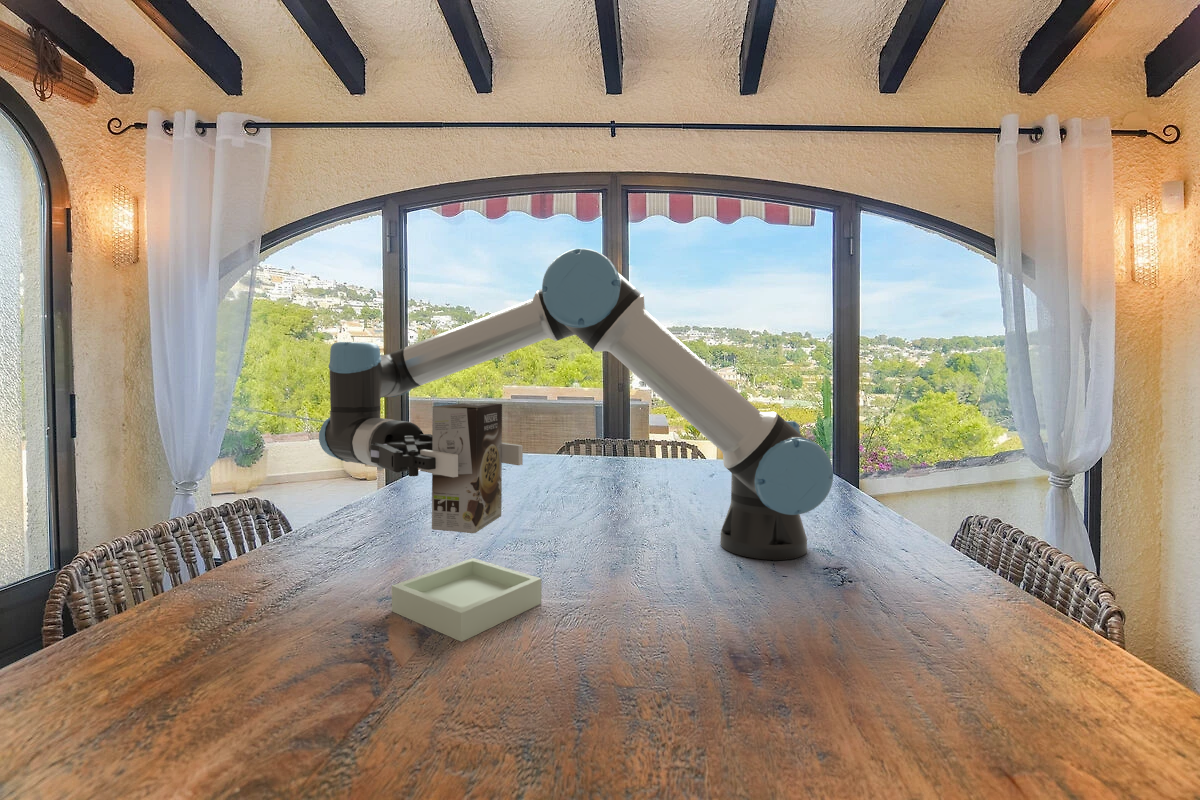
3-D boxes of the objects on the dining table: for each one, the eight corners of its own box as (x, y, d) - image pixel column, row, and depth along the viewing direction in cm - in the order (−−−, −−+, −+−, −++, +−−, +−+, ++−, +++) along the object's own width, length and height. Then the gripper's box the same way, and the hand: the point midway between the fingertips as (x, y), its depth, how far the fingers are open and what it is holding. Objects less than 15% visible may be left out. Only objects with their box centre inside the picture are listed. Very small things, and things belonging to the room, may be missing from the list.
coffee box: (477, 534, 73) (477, 406, 72) (430, 530, 74) (429, 405, 74) (503, 516, 82) (504, 402, 81) (461, 513, 83) (461, 401, 82)
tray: (541, 603, 80) (541, 578, 80) (461, 641, 69) (461, 612, 69) (473, 580, 88) (473, 557, 88) (391, 611, 77) (391, 585, 77)
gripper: (451, 459, 98) (549, 476, 85) (316, 480, 80) (414, 505, 66) (451, 415, 97) (549, 424, 84) (315, 425, 79) (413, 440, 66)
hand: (490, 460), depth 75 cm, fingers closed on coffee box, 10 cm apart
